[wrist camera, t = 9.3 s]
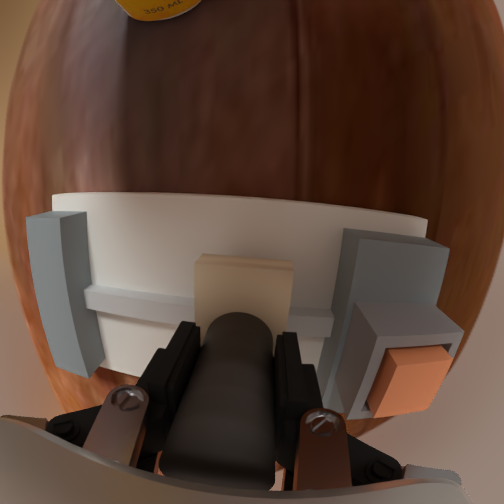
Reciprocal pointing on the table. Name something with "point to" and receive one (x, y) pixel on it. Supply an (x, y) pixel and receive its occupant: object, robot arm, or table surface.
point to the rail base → (246, 245)
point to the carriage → (231, 375)
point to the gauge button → (408, 379)
